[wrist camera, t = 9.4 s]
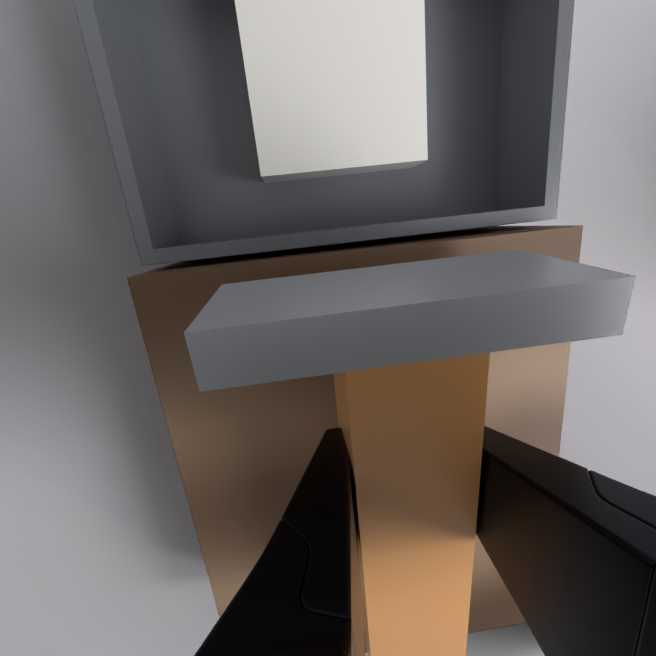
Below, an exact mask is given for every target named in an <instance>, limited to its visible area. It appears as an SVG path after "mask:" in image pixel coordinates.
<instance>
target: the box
mask: <svg viewBox="0 0 656 656" xmlns="http://www.w3.org/2000/svg"><path fill="white" fill-rule="evenodd" d="M73 1H74V5H75V9H76V13H77V16H78V20H79V24H80V28H81V32H82V36H83V40H84V44H85V47H86V51H87V55H88V59H89V63H90V67H91V71H92V75H93V78H94V82H95V86H96V90H97V94H98V98H99V102H100V106H101V109H102V113H103V117H104V121H105V125H106V129H107V133H108V137H109V140H110V144H111V148H112V152H113V156H114V160H115V164H116V168H117V171H118V175H119V179H120V183H121V187H122V191H123V195H124V199H125V202H126V206H127V210H128V214H129V218H130V222H131V226H132V229H133V233H134V237H135V241H136V245H137V249H138V253H139V257H140V260H141V264H142V266H144V265H153V264H161V263H170V262H179V261H188V260H197V259H206V258H214V257H223V256H232V255H241V254H250V253H259V252H267V251H276V250H285V249H294V248H303V247H312V246H320V245H329V244H338V243H347V242H356V241H364V240H373V239H382V238H391V237H400V236H409V235H417V234H426V233H435V232H444V231H453V230H462V229H470V228H479V227H488V226H497V225H506V224H514V223H523V222H532V221H541V220H550V219H556V218H557V206H558V194H559V182H560V170H561V157H562V145H563V133H564V121H565V109H566V97H567V84H568V72H569V60H570V48H571V36H572V24H573V11H574V0H424V2H425V51H426V100H427V148H428V160H426V161H424V162H422V163H420V164H418V165H416V166H414V167H412V168H407V169H397V170H387V171H377V172H368V173H358V174H348V175H338V176H329V177H319V178H309V179H299V180H289V181H280V182H270V183H265V182H264V181H263V179H262V178H261V174H260V167H259V160H258V154H257V147H256V140H255V134H254V127H253V120H252V114H251V107H250V100H249V94H248V87H247V80H246V74H245V67H244V60H243V53H242V47H241V40H240V33H239V27H238V20H237V13H236V7H235V0H73Z"/></svg>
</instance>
